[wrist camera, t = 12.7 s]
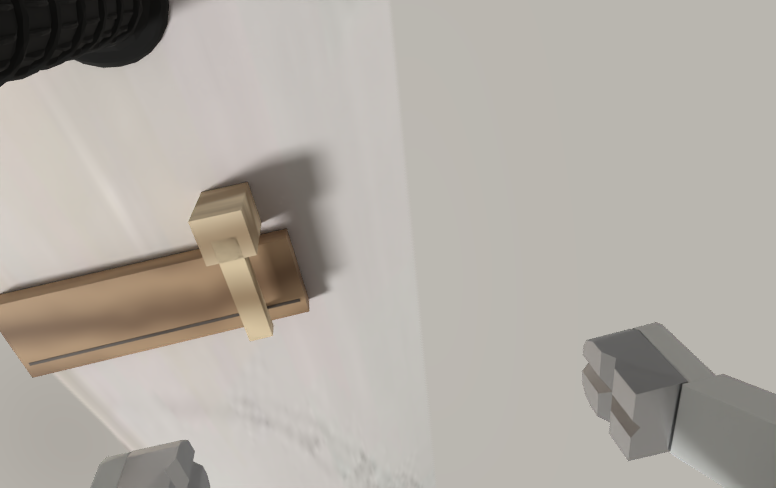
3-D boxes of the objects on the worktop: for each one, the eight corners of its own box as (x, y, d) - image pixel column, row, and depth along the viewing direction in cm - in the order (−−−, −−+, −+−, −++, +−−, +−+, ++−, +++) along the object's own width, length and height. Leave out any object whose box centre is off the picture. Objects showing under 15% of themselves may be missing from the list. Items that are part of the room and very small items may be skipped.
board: (-4, 295, 45) (-17, 308, 43) (286, 228, 46) (286, 238, 44) (42, 363, 48) (32, 378, 47) (308, 299, 50) (309, 311, 48)
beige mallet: (201, 192, 43) (188, 221, 38) (247, 181, 43) (240, 210, 38) (244, 304, 49) (238, 344, 44) (285, 295, 49) (284, 333, 44)
